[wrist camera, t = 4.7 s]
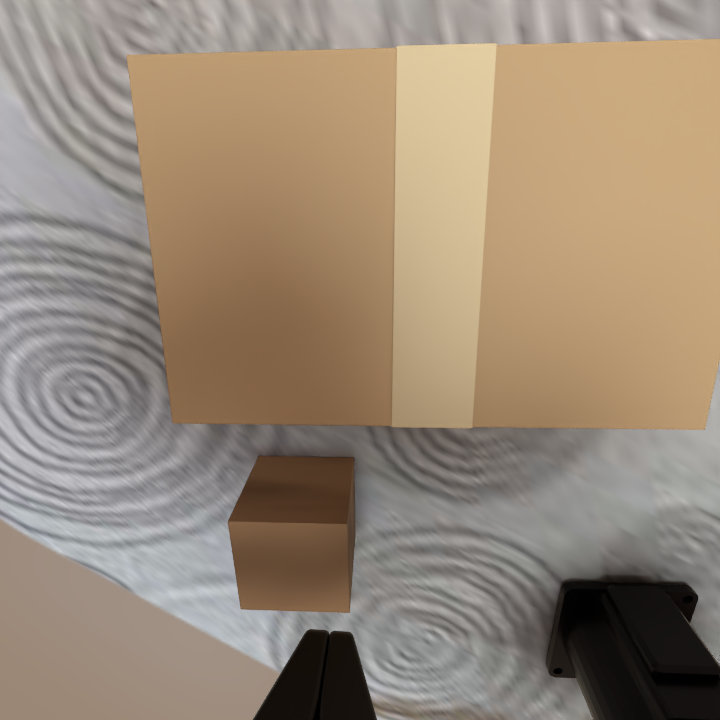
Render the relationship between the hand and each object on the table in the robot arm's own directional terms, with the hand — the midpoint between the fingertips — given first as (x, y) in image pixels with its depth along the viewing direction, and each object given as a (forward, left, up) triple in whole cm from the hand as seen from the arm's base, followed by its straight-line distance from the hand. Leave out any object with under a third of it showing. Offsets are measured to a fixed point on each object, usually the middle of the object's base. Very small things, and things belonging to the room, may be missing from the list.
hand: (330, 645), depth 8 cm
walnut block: (-6, +3, -12) cm, 13 cm away
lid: (+6, -2, -7) cm, 10 cm away
